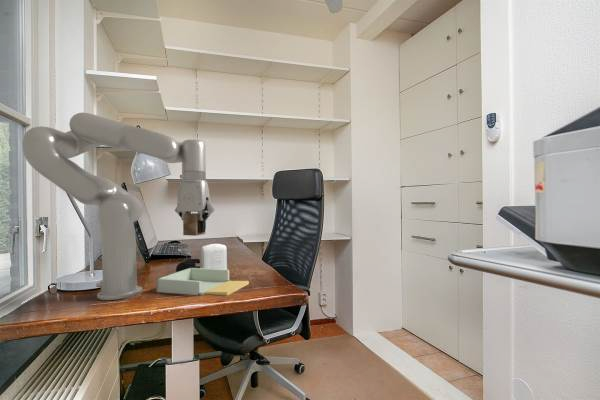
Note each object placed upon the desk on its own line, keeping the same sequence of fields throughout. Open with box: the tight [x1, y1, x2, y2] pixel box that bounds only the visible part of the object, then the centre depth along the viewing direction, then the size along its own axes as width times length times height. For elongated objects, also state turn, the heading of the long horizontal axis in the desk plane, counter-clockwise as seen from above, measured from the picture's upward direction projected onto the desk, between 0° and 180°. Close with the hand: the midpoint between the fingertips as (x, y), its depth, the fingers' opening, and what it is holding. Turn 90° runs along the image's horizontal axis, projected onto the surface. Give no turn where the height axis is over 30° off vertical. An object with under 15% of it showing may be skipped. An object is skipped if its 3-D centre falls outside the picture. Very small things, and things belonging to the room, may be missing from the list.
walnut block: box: [182, 212, 206, 237], centre depth 106 cm, size 5×5×7 cm
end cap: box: [175, 257, 201, 273], centre depth 125 cm, size 10×7×7 cm
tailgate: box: [203, 280, 250, 297], centre depth 103 cm, size 1×14×8 cm
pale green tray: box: [155, 267, 232, 296], centre depth 106 cm, size 17×17×5 cm
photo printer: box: [200, 243, 228, 270], centre depth 126 cm, size 10×4×12 cm, turn 125°
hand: (194, 231), depth 106 cm, fingers closed on walnut block, 5 cm apart
